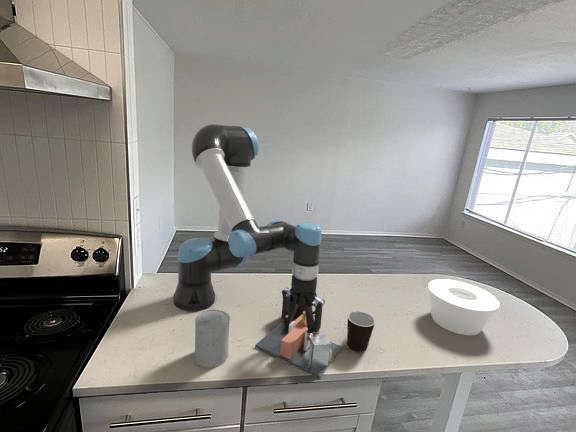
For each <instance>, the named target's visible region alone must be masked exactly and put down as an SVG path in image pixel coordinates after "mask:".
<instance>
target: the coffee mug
mask: <svg viewBox="0 0 576 432" xmlns="http://www.w3.org/2000/svg"><path fill="white" fill-rule="evenodd" d="M375 325H376V319H375V317H374V316H372V315H371V314H370V313H368V312H365V311H360V310H354V311H350V312H349V313H348V314H347V327H346V330H347V331H346V332H347V333H346V346H347V347H348V349H350V350H351V351H353V352H355V353H364V352H366V351H367V349H368V346H369V343H370V339H371V337H372V333H373V331H374V327H375Z"/></svg>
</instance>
